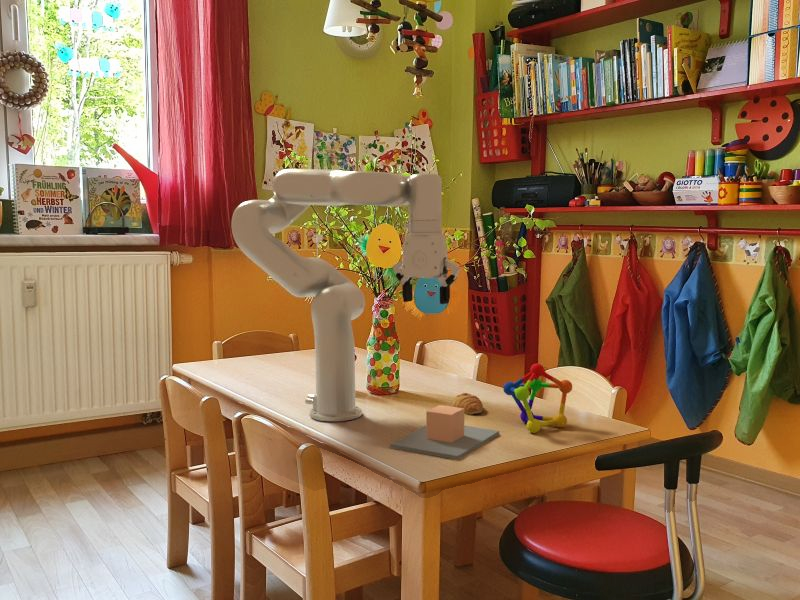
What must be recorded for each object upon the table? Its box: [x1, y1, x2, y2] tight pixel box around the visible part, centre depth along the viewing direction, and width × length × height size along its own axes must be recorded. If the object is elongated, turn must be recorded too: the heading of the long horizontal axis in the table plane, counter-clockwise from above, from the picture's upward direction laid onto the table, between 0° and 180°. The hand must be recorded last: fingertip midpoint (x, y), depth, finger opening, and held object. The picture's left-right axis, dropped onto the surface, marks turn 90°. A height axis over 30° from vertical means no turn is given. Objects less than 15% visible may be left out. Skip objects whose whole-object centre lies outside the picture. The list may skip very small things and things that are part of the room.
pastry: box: [452, 392, 484, 416], centre depth 182 cm, size 9×7×4 cm
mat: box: [389, 425, 500, 461], centre depth 158 cm, size 16×20×1 cm
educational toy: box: [502, 363, 573, 434], centre depth 167 cm, size 16×13×15 cm
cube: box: [425, 404, 465, 443], centre depth 157 cm, size 6×6×6 cm
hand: (425, 302), depth 170 cm, fingers open, 9 cm apart
